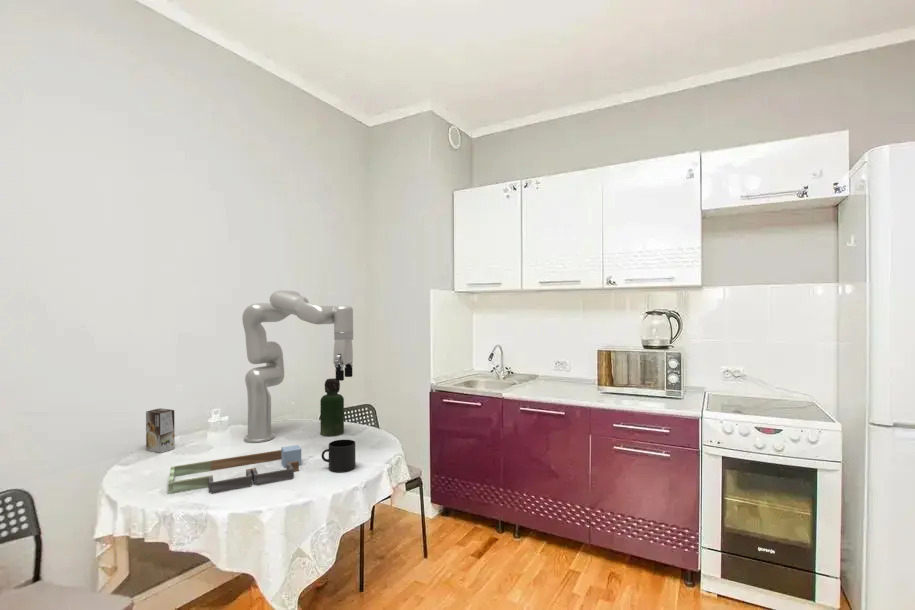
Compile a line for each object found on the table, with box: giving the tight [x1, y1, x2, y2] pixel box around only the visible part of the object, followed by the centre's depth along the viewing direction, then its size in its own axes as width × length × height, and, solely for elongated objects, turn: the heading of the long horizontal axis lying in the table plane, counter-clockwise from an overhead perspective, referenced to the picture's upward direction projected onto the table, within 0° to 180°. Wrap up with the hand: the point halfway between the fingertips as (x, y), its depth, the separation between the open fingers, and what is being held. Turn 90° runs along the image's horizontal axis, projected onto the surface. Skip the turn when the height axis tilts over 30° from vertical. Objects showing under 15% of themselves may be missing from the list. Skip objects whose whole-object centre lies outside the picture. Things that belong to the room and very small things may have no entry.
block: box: [280, 444, 302, 469], centre depth 168 cm, size 6×6×6 cm
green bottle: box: [319, 377, 345, 437], centre depth 209 cm, size 10×10×25 cm
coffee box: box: [145, 408, 176, 454], centre depth 186 cm, size 9×6×16 cm
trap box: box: [167, 449, 300, 495], centre depth 156 cm, size 24×39×3 cm, turn 120°
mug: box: [321, 439, 356, 473], centre depth 164 cm, size 9×12×9 cm
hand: (344, 378), depth 184 cm, fingers open, 9 cm apart
